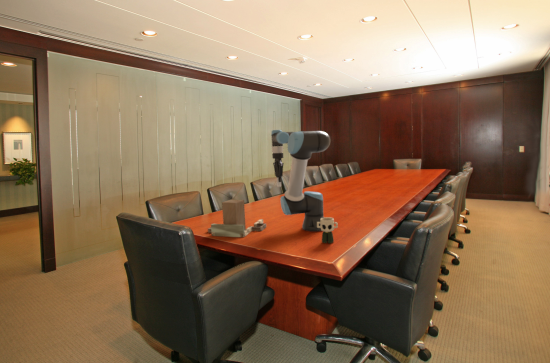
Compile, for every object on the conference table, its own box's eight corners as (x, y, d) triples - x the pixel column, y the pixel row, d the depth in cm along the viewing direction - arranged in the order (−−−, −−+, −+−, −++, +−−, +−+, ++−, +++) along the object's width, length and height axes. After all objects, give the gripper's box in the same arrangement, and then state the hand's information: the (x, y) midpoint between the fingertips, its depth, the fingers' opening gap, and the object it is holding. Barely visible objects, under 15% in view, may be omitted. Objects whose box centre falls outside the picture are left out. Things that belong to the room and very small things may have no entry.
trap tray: (228, 221, 222) (227, 211, 221) (271, 222, 212) (271, 212, 211) (202, 235, 189) (201, 224, 188) (253, 237, 178) (252, 226, 178)
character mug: (316, 244, 161) (316, 220, 160) (318, 240, 168) (317, 217, 167) (337, 244, 159) (337, 220, 157) (338, 240, 166) (337, 217, 164)
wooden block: (233, 229, 198) (231, 199, 196) (246, 231, 194) (244, 199, 191) (223, 234, 189) (221, 202, 187) (237, 235, 185) (235, 202, 183)
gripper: (286, 152, 206) (288, 187, 209) (279, 152, 218) (280, 185, 221) (276, 152, 203) (277, 188, 206) (269, 152, 215) (270, 186, 218)
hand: (279, 186), depth 213 cm, fingers closed
